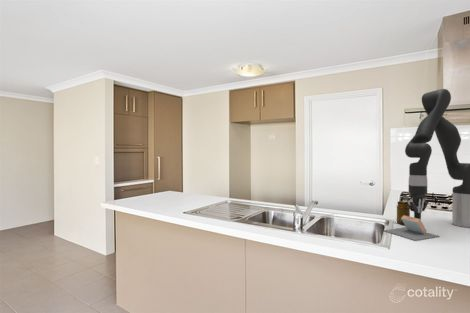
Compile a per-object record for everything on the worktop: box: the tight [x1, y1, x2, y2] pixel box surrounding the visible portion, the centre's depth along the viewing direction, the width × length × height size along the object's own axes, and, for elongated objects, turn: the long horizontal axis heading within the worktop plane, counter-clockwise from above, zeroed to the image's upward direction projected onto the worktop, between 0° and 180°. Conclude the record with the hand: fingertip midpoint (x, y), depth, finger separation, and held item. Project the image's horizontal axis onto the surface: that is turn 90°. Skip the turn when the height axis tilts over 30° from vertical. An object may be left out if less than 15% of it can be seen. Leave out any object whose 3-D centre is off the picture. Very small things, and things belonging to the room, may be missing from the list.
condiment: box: [393, 200, 411, 226], centre depth 145 cm, size 7×8×12 cm
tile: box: [401, 215, 428, 234], centre depth 128 cm, size 2×8×8 cm
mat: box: [382, 226, 440, 242], centre depth 127 cm, size 16×16×1 cm
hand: (417, 220), depth 129 cm, fingers closed
